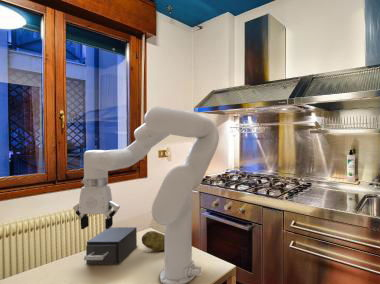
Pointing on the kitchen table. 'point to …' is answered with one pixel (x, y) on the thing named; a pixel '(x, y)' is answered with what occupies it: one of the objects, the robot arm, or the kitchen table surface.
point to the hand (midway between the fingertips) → (96, 227)
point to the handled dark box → (101, 254)
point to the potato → (153, 240)
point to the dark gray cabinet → (118, 240)
